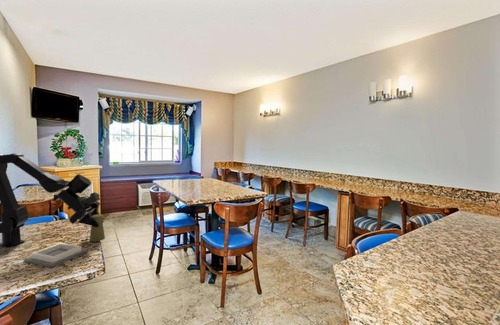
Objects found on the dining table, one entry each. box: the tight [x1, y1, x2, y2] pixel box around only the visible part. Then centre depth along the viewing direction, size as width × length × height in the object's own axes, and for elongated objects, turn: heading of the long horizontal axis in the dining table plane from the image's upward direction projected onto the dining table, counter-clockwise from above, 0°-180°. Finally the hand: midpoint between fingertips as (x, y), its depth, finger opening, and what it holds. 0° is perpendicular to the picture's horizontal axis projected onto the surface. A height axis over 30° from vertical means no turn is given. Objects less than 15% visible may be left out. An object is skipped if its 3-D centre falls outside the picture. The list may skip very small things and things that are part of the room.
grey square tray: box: [23, 242, 88, 268], centre depth 99 cm, size 14×14×3 cm
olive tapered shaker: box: [89, 213, 106, 242], centre depth 116 cm, size 6×6×11 cm
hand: (100, 224), depth 116 cm, fingers closed on olive tapered shaker, 5 cm apart
